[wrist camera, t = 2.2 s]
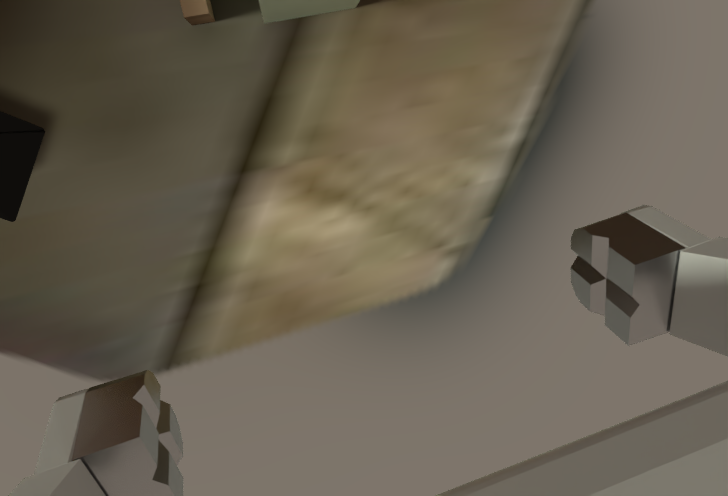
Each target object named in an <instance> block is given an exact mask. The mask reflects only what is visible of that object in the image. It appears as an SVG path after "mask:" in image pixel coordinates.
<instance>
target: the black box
mask: <svg viewBox="0 0 728 496" xmlns="http://www.w3.org/2000/svg"><path fill="white" fill-rule="evenodd" d="M44 133H45V131H44V129H43V128H41V127H39V126H36V125H33V124H31V123H28V122H26V121H23V120H21V119H18V118H16V117H13V116H11V115H8V114H6V113H3V112H1V111H0V218H2V219H5V220H8V221H11V222H13V221H15V220H16V217H17V214H18V211H19V208H20V205H21V202H22V199H23V196H24V193H25V190H26V187H27V184H28V181H29V178H30V175H31V172H32V169H33V166H34V163H35V160H36V157H37V154H38V151H39V148H40V145H41V142H42V139H43V136H44Z"/></svg>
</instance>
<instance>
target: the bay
mask: <svg viewBox="0 0 728 496" xmlns="http://www.w3.org/2000/svg"><path fill="white" fill-rule="evenodd" d="M180 3H181V7H182V11H183V15H184V18H185V19H186V20H187V21H188V22H189V23H190V24H191V25H197V24H203V23H209V22H215V19H214V15H213V10H212V6H211V2H210V0H180Z"/></svg>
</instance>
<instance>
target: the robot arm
mask: <svg viewBox="0 0 728 496" xmlns="http://www.w3.org/2000/svg"><path fill="white" fill-rule="evenodd" d="M571 249H572V250H573V251H574V252H575V254H576V255H577V258H576V260H575V261H574V263H573V265H572V266H571V283H572V286H573V289H574V291H575V294H576V296H577V297H578V299H579V300H580V302H581V303H582V304H583V305H584V306H585V307H586V308H587V309H588V310H589V311H591V312H594V313H598V314H601V315H604V316H605V325H606V326H607V327H608V328H609V329H610V330H611V331H612V332H614V333H615V334H616V335H617V336H618V337H619V338H620V339H621V340H622V341H624V342H625V343H626V344H627V345H628V346H629V345H632V344H635V343H638V342H641V341H644V340H647V339H650V338H653V337H656V336H658V335H662V334H665V333H668V332H670V333H669V334H670V335H673V336H675V337H678V338H681V339H683V340H686V341H689V342H691V343H694V344H697V345H699V346H702V347H704V348H707V349H709V350H712V351H715V352H717V353H720V354H723V355H725V356H728V238H722V237H718V238H715V239H711V238H709V237H707V236H705V235H703V234H701V233H700V232H698V231H696V230H694V229H692V228H691V227H689V226H687V225H685V224H683V223H682V222H680V221H678V220H676V219H674V218H672V217H671V216H669V215H667V214H665V213H663V212H661V211H660V210H658V209H656V208H654V207H653V206H647V205H642V206H640V207H637V208H634V209H631V210H628V211H626V212H623V213H621V214H620V215H617V216H614V217H611V218H608V219H605V220H602V221H599V222H596V223H593V224H590V225H587V226H585V227H581V228H578V229H575V230H574V232H573V234H572V237H571ZM160 388H161V387H160V384H159V383H158V381H157V379H156V377H155V376H154V374H153V372H151V371H149V370H146V371H143V372H139V373H136V374H133V375H130V376H126V377H123V378H120V379H117V380H113V381H110V382H107V383H104V384H100V385H97V386H94V387H91V388H89V389H85V390H81V391H78V392H75V393H72V394H69V395H66V396H63V397H60V398H59V399H58V400H57V401H56V402H55V403H54V405H53V408H52V412H51V415H50V419H49V422H48V426H47V430H46V433H45V437H44V440H43V444H42V448H41V451H40V455H39V458H38V462H37V466H36V469H35V473H34V475H32V476H29V477H26V478H24V479H23V480H22V481H21V482H20V483H19V484H18V486H17V487H16V488H15V489H14V490H13V491H12V492H11V493H10V494H9V495H8V496H183V476H182V475H181V473H180V471H179V469H178V467H177V465H178V463H179V462H180V460H181V459H182V457H183V442H182V437H181V432H180V427H179V424H178V421H177V418H176V415H175V413H174V411H173V409H172V407H171V405H170V404H168V403H166V402H163V401H161V400H160ZM436 496H728V381H726V382H724V383H721V384H719V385H716V386H713V387H711V388H708V389H706V390H703V391H701V392H698V393H696V394H693V395H690V396H688V397H685V398H683V399H681V400H678V401H675V402H673V403H670V404H668V405H665V406H663V407H660V408H657V409H655V410H652V411H650V412H647V413H645V414H642V415H640V416H637V417H635V418H632V419H629V420H627V421H624V422H622V423H619V424H617V425H614V426H611V427H609V428H606V429H604V430H601V431H599V432H596V433H594V434H591V435H589V436H586V437H584V438H581V439H578V440H576V441H573V442H571V443H568V444H566V445H563V446H561V447H558V448H555V449H553V450H550V451H548V452H546V453H543V454H540V455H538V456H535V457H533V458H530V459H528V460H525V461H522V462H520V463H517V464H515V465H513V466H510V467H507V468H505V469H502V470H499V471H497V472H494V473H492V474H489V475H487V476H484V477H482V478H479V479H477V480H474V481H471V482H469V483H466V484H464V485H462V486H459V487H456V488H454V489H451V490H448V491H446V492H443V493H441V494H438V495H436Z"/></svg>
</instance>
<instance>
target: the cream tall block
mask: <svg viewBox="0 0 728 496" xmlns="http://www.w3.org/2000/svg"><path fill="white" fill-rule="evenodd" d="M359 2H360V0H259V4H260V8H261V13H262V17H263V21H264V24H265V23H271V22H276V21H282V20H288V19H294V18H300V17H306V16H311V15H317V14H323V13H329V12H335V11H341V10H347V9H352V8H356V6H357V5H358V3H359Z"/></svg>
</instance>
